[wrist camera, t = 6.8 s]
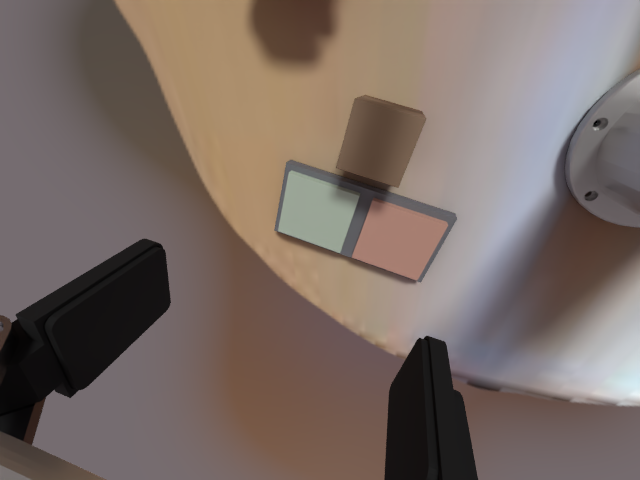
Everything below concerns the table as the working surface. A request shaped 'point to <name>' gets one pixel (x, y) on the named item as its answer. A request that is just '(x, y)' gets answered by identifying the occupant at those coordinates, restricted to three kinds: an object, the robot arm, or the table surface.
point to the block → (380, 139)
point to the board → (361, 221)
